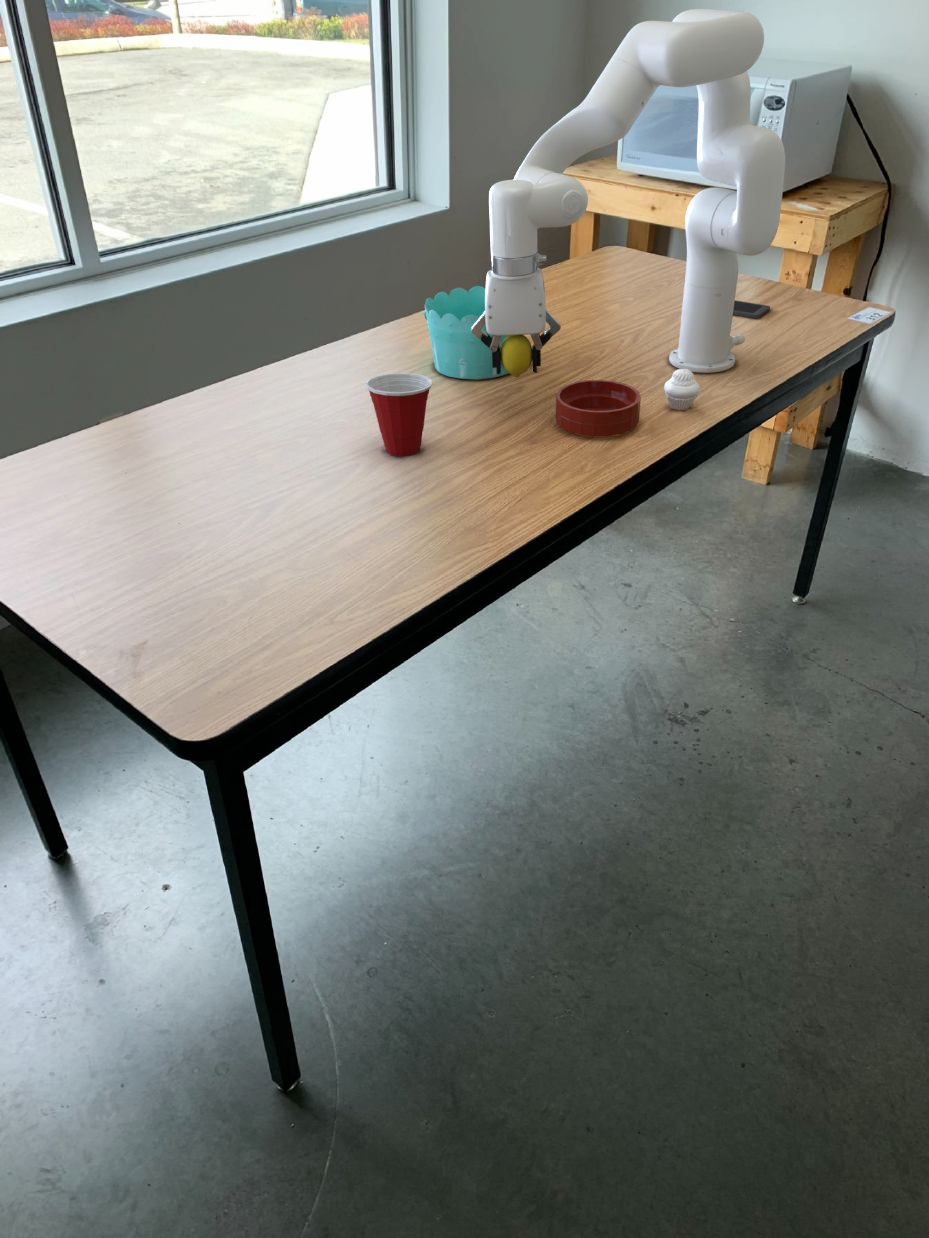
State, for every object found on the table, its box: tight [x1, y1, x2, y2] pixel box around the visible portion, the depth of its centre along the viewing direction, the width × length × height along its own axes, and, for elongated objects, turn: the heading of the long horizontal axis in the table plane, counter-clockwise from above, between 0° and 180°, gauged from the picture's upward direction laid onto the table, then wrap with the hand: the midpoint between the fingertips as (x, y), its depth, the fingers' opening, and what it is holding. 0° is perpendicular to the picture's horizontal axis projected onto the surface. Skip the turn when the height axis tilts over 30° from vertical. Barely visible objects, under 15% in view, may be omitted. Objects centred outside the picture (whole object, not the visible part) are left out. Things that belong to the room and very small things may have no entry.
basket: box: [423, 285, 509, 381], centre depth 189 cm, size 19×18×13 cm
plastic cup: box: [364, 372, 434, 458], centre depth 158 cm, size 11×11×12 cm
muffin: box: [663, 368, 700, 411], centre depth 171 cm, size 6×6×7 cm
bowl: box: [555, 379, 642, 438], centre depth 167 cm, size 14×14×5 cm
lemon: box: [500, 335, 532, 378], centre depth 166 cm, size 6×6×8 cm
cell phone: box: [733, 299, 771, 319], centre depth 215 cm, size 7×14×1 cm, turn 55°
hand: (516, 369), depth 168 cm, fingers closed on lemon, 5 cm apart
